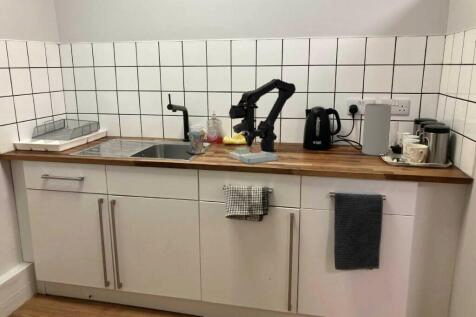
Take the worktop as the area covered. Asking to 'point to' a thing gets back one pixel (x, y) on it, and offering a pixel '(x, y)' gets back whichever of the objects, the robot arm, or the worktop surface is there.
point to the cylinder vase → (376, 129)
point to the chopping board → (248, 155)
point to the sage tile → (242, 150)
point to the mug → (196, 142)
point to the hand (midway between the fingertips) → (248, 147)
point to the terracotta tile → (254, 149)
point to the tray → (259, 159)
